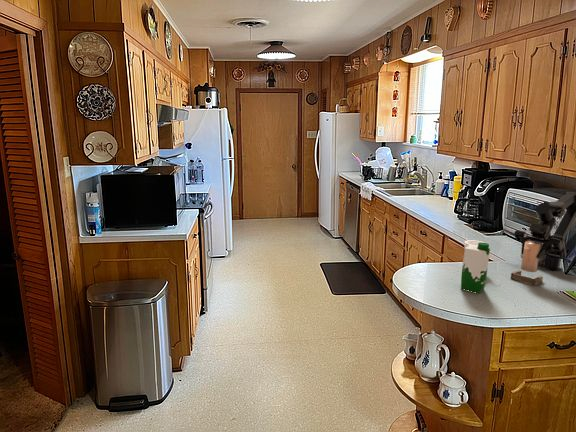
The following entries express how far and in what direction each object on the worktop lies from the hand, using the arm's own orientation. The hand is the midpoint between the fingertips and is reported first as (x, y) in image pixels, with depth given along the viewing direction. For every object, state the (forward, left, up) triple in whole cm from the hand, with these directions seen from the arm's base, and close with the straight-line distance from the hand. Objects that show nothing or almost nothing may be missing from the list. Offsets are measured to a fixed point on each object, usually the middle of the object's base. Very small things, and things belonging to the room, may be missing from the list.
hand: (529, 255), depth 186 cm
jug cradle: (-1, 0, -11) cm, 11 cm away
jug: (0, 0, -7) cm, 7 cm away
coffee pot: (-21, -21, -12) cm, 32 cm away
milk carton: (+30, 0, -12) cm, 32 cm away
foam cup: (+13, -18, -12) cm, 25 cm away
